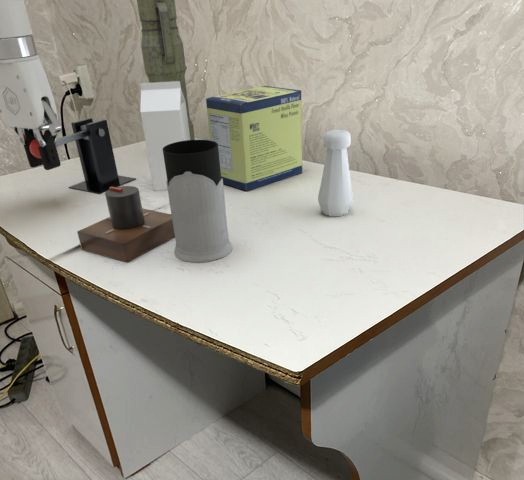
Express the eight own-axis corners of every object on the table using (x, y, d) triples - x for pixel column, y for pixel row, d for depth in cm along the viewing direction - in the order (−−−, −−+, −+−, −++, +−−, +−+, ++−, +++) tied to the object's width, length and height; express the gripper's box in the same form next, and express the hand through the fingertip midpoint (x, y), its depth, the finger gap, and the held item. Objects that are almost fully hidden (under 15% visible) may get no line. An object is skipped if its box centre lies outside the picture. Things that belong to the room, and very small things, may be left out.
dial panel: (127, 262, 78) (122, 242, 77) (81, 249, 83) (76, 230, 81) (180, 233, 86) (178, 214, 85) (136, 223, 91) (132, 205, 89)
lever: (40, 161, 93) (34, 142, 91) (28, 159, 95) (22, 140, 93) (104, 138, 103) (100, 121, 101) (93, 137, 105) (88, 120, 103)
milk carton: (191, 193, 102) (176, 84, 92) (154, 195, 103) (135, 86, 92) (195, 182, 108) (182, 78, 97) (161, 184, 109) (144, 80, 98)
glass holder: (169, 263, 77) (151, 156, 69) (186, 225, 89) (172, 130, 80) (229, 261, 77) (218, 153, 68) (238, 224, 88) (230, 128, 80)
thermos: (169, 164, 120) (140, -26, 100) (151, 154, 128) (121, -24, 109) (205, 157, 123) (184, -29, 103) (185, 147, 132) (162, -26, 112)
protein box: (303, 172, 110) (302, 89, 101) (246, 192, 101) (240, 103, 93) (269, 163, 116) (265, 84, 107) (212, 181, 108) (203, 97, 99)
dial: (151, 220, 83) (145, 186, 80) (128, 231, 80) (120, 196, 77) (128, 215, 86) (122, 182, 83) (105, 225, 83) (97, 191, 80)
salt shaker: (312, 209, 92) (312, 129, 85) (342, 203, 93) (344, 125, 86) (327, 220, 87) (328, 137, 80) (358, 214, 89) (362, 132, 81)
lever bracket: (100, 199, 103) (84, 129, 95) (69, 193, 107) (51, 125, 100) (137, 184, 109) (124, 117, 102) (107, 178, 114) (92, 114, 106)
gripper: (-39, 53, 87) (0, 167, 98) (24, 54, 79) (58, 178, 90) (1, 47, 92) (34, 156, 103) (64, 47, 84) (92, 165, 95)
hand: (45, 165), depth 96 cm, fingers closed on lever, 3 cm apart
